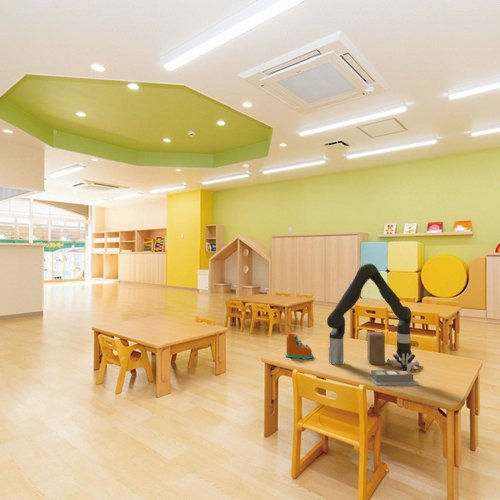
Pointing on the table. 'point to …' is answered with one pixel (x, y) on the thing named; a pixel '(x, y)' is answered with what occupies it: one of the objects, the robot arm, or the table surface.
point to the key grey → (391, 372)
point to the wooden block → (376, 348)
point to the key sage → (379, 372)
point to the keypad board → (392, 378)
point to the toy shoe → (297, 348)
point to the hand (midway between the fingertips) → (404, 370)
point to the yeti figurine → (409, 366)
